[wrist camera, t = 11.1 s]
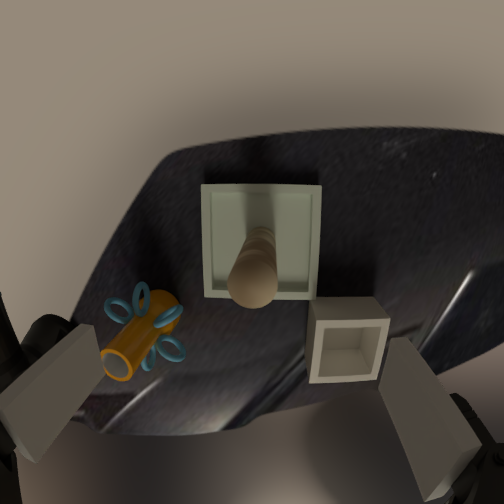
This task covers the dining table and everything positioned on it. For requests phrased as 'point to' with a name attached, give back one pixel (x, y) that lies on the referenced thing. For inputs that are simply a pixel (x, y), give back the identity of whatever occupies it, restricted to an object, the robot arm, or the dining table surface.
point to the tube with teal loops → (142, 332)
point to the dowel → (255, 270)
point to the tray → (262, 215)
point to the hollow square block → (345, 339)
